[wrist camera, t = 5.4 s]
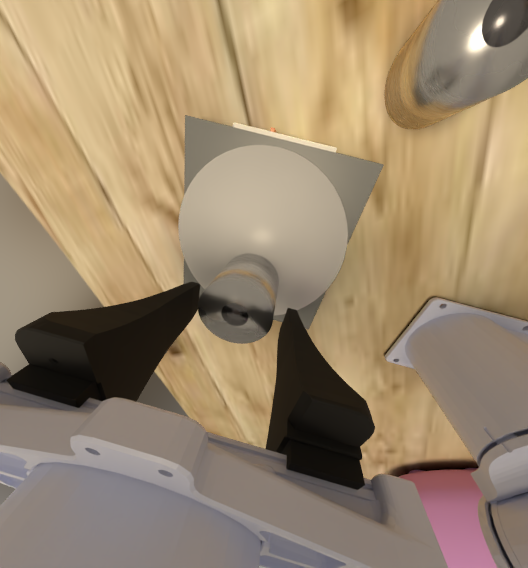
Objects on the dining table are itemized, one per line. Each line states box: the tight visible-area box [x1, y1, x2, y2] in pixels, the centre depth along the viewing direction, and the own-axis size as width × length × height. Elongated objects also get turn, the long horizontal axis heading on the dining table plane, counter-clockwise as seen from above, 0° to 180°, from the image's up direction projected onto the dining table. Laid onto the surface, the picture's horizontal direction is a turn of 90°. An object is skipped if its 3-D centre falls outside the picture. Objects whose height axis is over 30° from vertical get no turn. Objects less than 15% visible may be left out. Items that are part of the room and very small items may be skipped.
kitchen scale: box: [178, 115, 383, 329], centre depth 14 cm, size 12×14×3 cm
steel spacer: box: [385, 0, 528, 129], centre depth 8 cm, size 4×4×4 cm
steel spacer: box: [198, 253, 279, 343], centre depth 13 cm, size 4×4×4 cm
